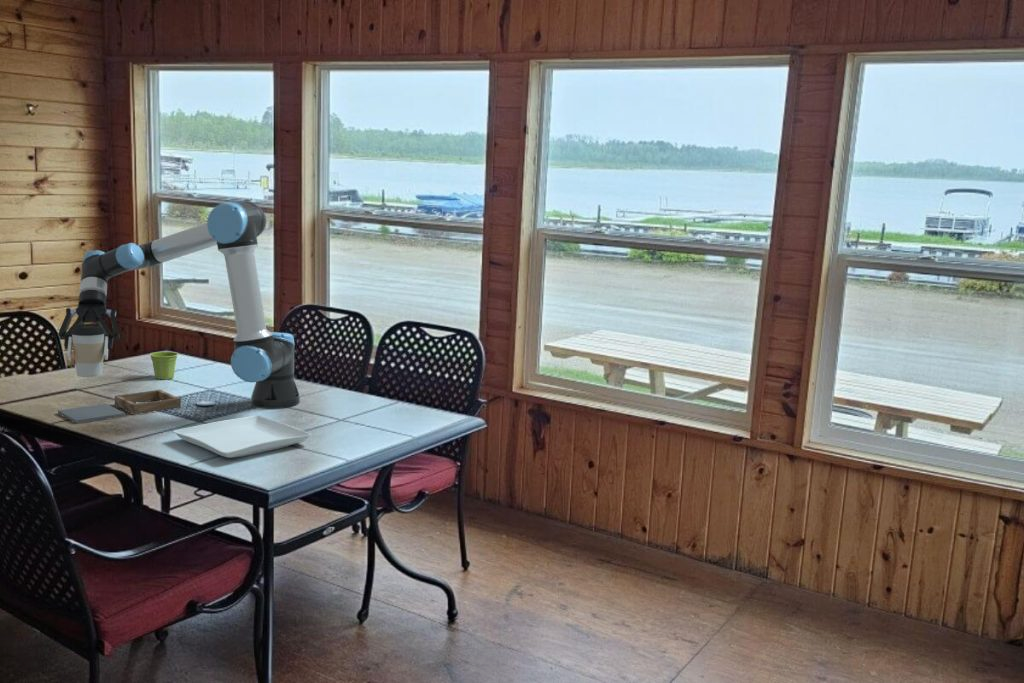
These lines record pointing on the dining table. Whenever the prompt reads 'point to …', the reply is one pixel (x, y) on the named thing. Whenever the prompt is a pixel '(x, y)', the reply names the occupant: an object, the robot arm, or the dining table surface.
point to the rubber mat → (91, 413)
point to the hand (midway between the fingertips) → (87, 357)
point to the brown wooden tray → (130, 402)
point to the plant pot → (164, 364)
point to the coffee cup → (88, 349)
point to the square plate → (243, 436)
